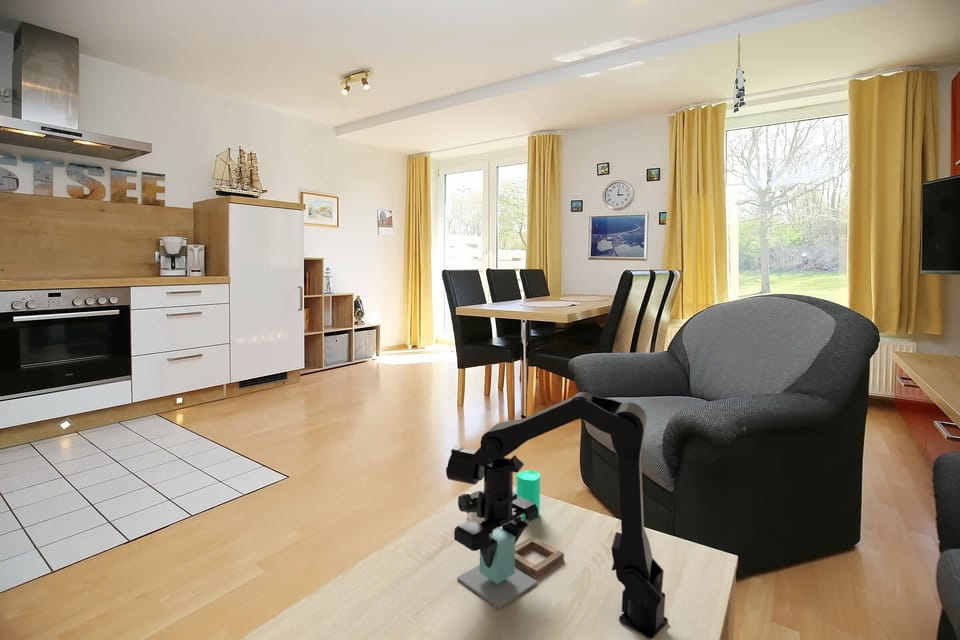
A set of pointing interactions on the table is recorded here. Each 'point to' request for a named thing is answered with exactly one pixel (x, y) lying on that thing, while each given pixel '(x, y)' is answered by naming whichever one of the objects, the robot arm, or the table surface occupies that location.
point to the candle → (529, 487)
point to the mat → (497, 586)
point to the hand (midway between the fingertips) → (497, 561)
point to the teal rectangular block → (500, 557)
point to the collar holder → (532, 542)
